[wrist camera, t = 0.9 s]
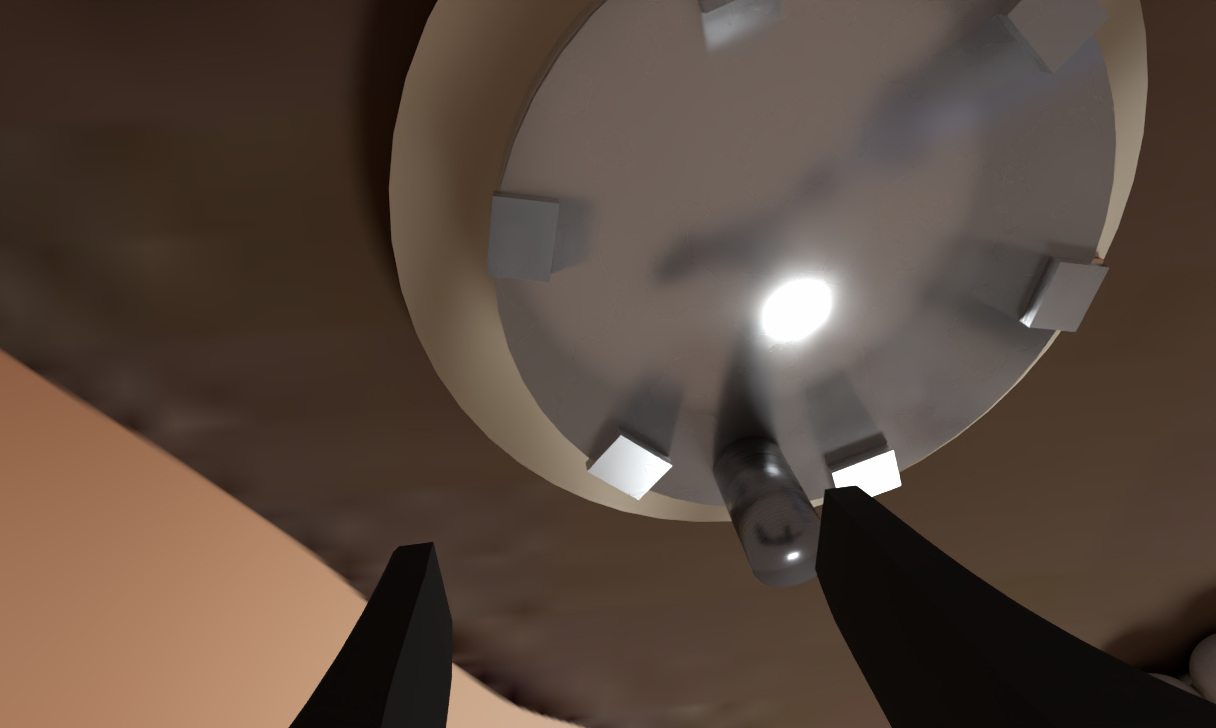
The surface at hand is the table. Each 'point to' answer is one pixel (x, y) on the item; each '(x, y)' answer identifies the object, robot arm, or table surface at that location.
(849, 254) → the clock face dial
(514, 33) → the base plate
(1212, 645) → the red white round cluster
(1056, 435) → the table surface
